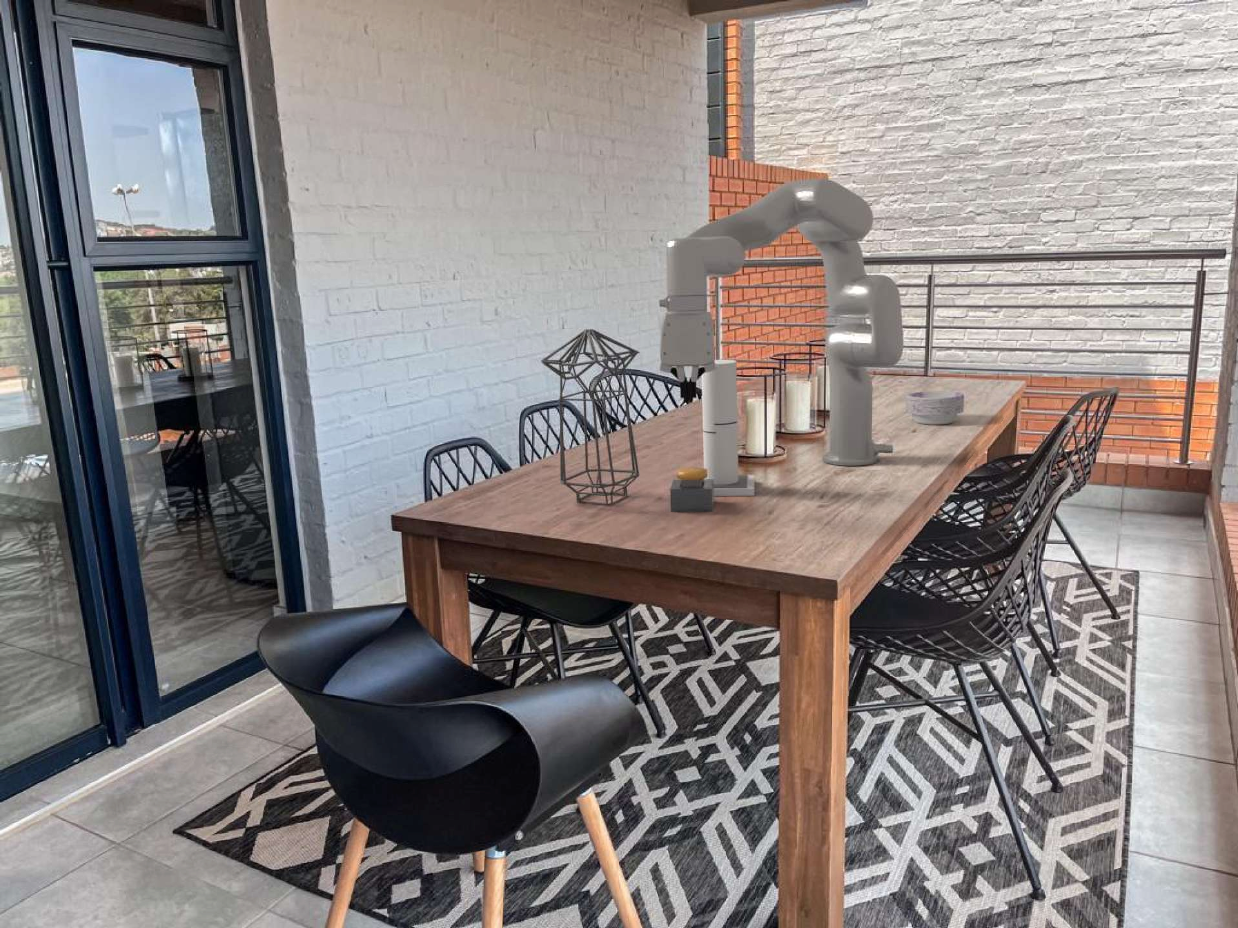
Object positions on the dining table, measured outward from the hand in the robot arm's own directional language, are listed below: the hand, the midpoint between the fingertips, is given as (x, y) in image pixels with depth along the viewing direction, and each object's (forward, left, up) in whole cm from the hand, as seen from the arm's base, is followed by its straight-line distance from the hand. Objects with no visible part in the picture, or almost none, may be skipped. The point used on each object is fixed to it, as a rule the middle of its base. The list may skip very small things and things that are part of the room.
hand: (688, 401), depth 185 cm
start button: (0, 0, -19) cm, 19 cm away
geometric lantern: (+20, -6, -21) cm, 30 cm away
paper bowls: (-61, -88, -21) cm, 110 cm away
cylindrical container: (-5, -15, -19) cm, 25 cm away
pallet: (-5, -14, -21) cm, 26 cm away
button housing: (0, 0, -21) cm, 21 cm away
